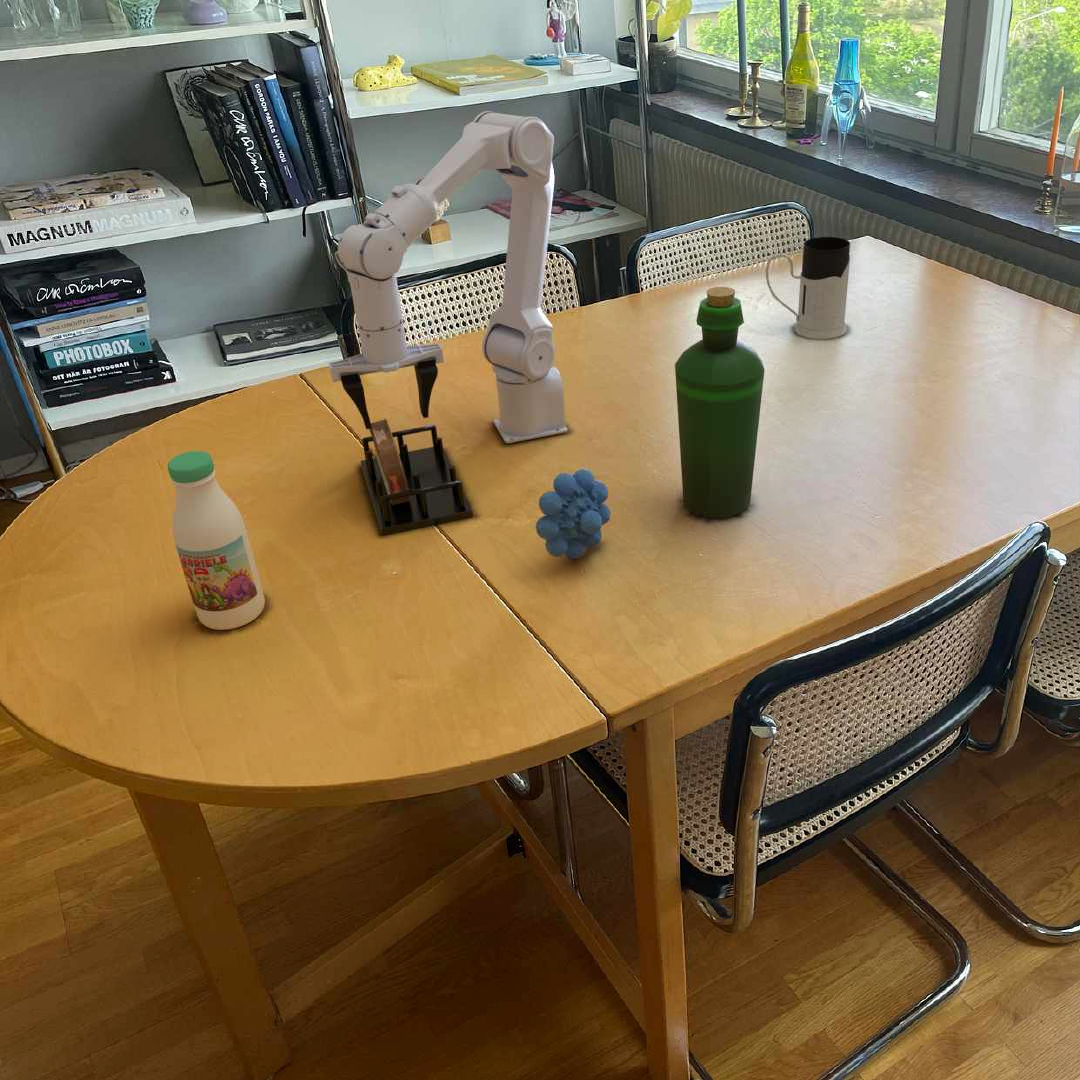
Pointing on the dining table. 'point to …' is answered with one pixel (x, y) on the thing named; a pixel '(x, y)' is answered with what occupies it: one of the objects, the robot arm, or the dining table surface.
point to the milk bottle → (213, 546)
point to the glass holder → (821, 287)
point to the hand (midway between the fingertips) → (396, 420)
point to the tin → (389, 460)
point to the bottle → (718, 410)
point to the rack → (417, 487)
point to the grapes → (573, 514)
